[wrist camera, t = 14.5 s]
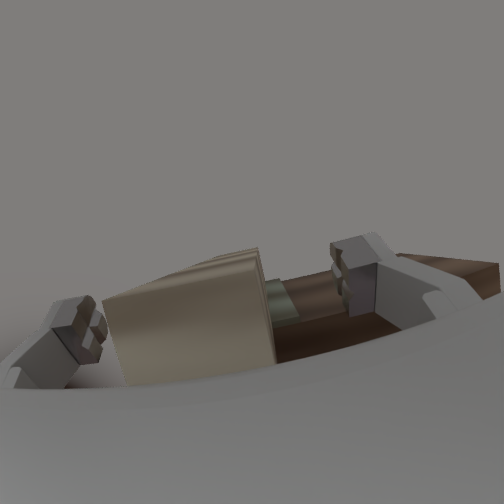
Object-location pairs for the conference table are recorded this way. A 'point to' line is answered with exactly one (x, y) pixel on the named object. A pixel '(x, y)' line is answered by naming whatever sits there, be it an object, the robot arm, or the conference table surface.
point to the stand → (335, 316)
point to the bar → (194, 322)
